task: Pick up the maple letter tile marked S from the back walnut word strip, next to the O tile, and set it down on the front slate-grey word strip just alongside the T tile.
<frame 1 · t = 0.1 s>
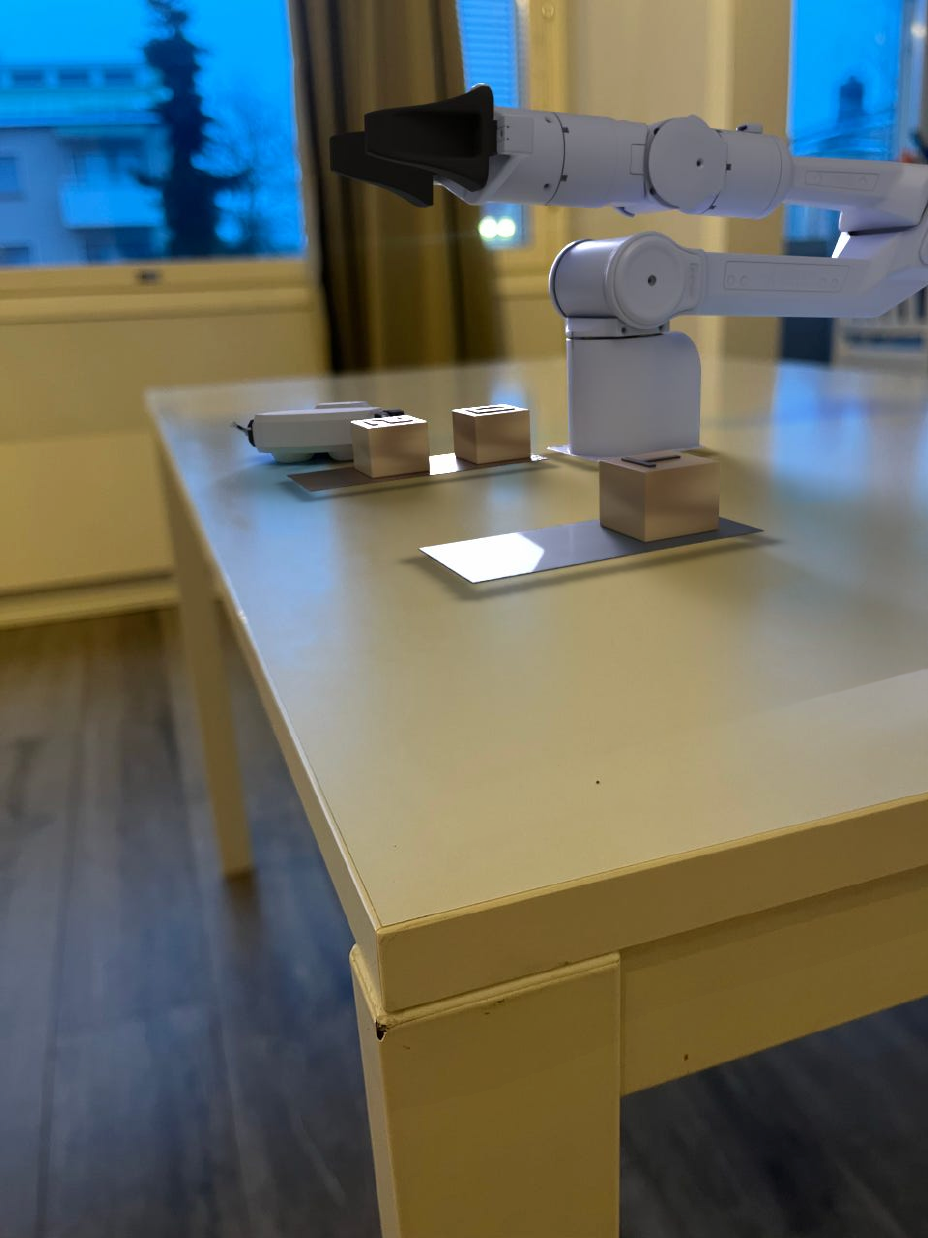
hand: (347, 143, 59), 22 cm above the table, tool horizontal, fingers open, 7 cm apart
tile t: (657, 527, 49), point 1 cm above the table, touching strip front
strip front: (590, 550, 48), on the table
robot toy: (335, 459, 80), on the table
tile s: (392, 470, 69), point 1 cm above the table, touching strip back
tile o: (492, 456, 72), point 1 cm above the table, touching strip back
strip back: (418, 474, 70), on the table
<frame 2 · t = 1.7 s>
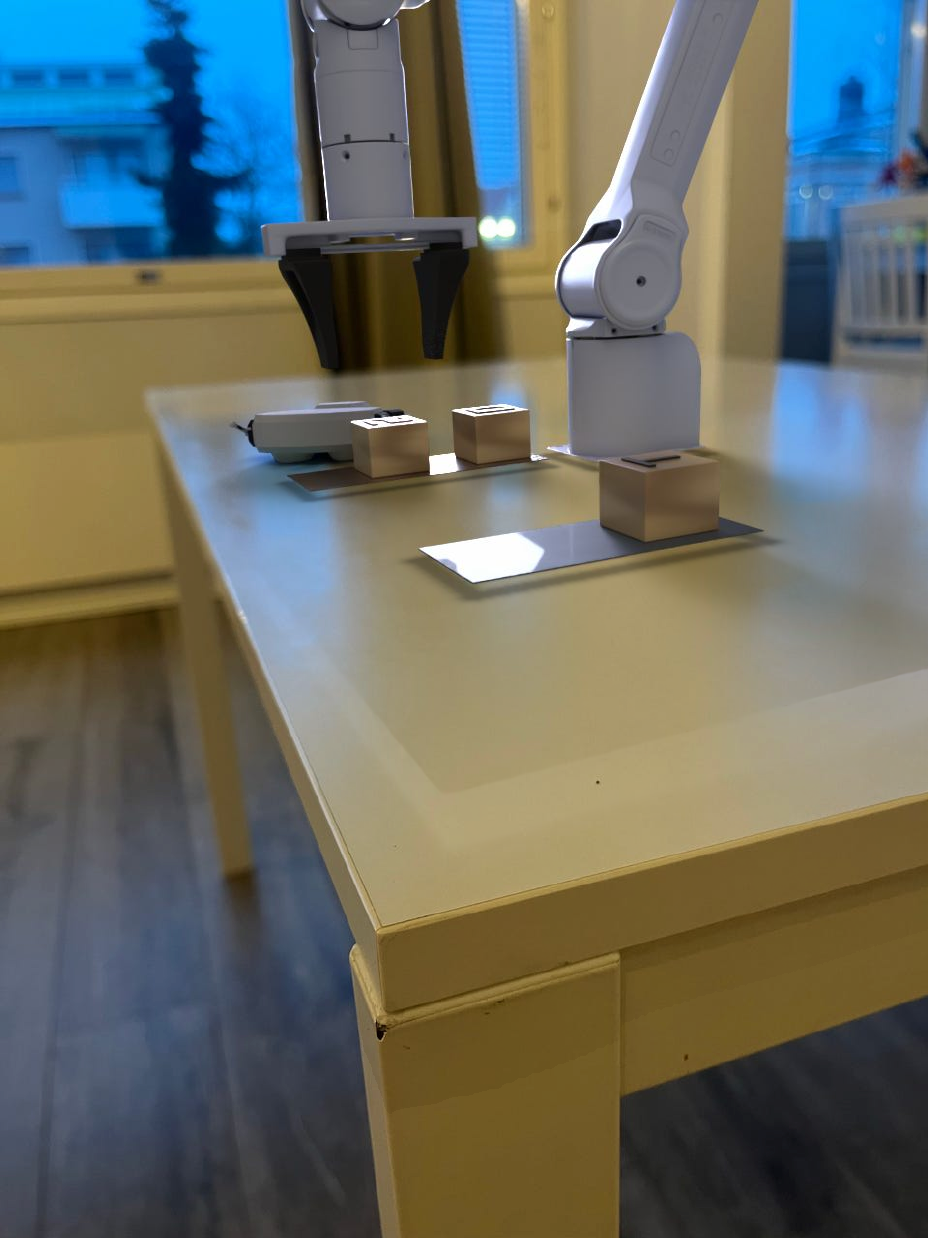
hand: (382, 363, 67), 8 cm above the table, tool pointing down, fingers open, 7 cm apart
nothing on the table moved.
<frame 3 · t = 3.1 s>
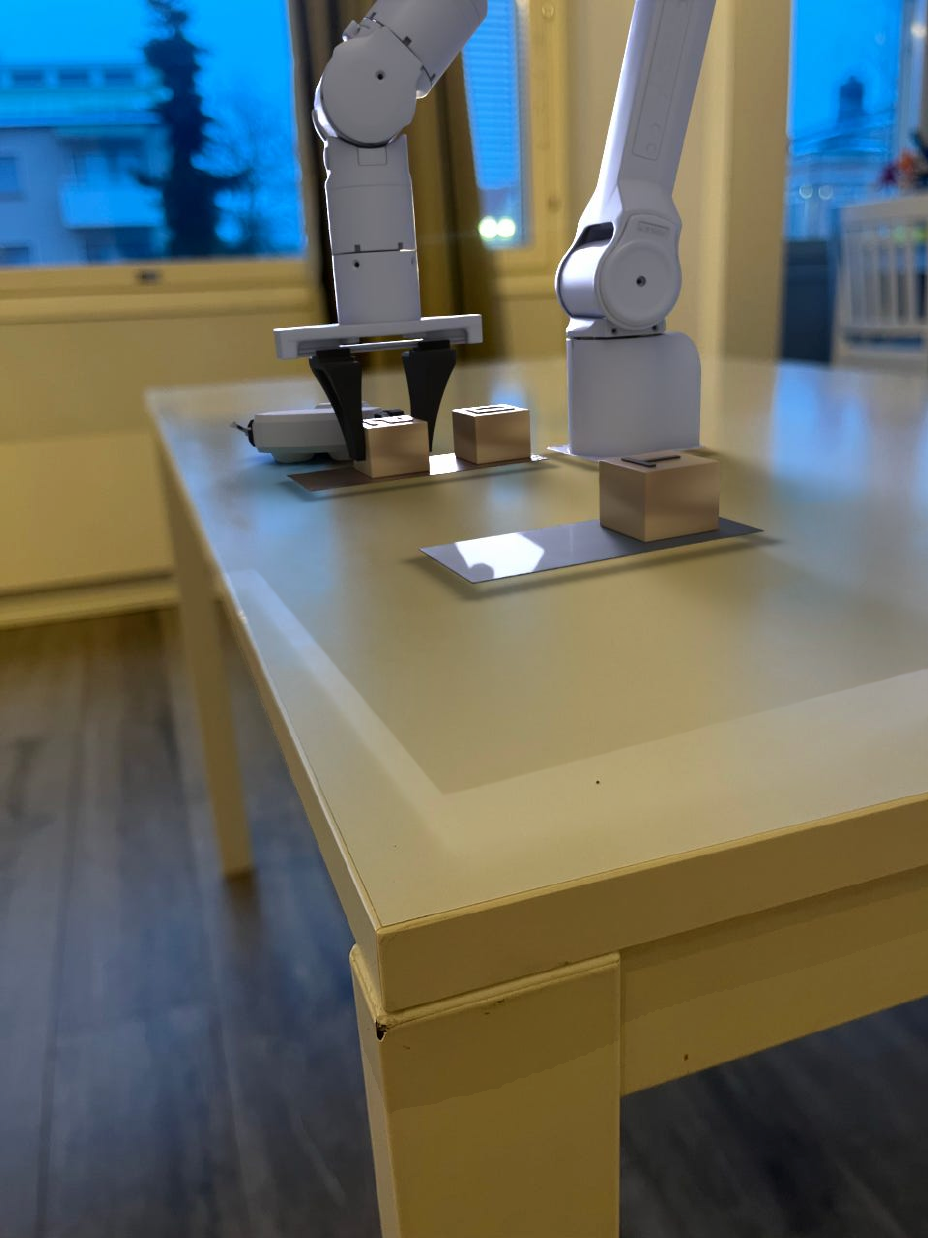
hand: (391, 454, 69), 2 cm above the table, tool pointing down, fingers closed on tile s, 4 cm apart
tile s: (392, 470, 69), point 1 cm above the table, touching gripper, strip back
everything else where it was.
when the fingers open (2 cm above the table, at t = 8.0 s): tile s stays where it is, resting on strip front.
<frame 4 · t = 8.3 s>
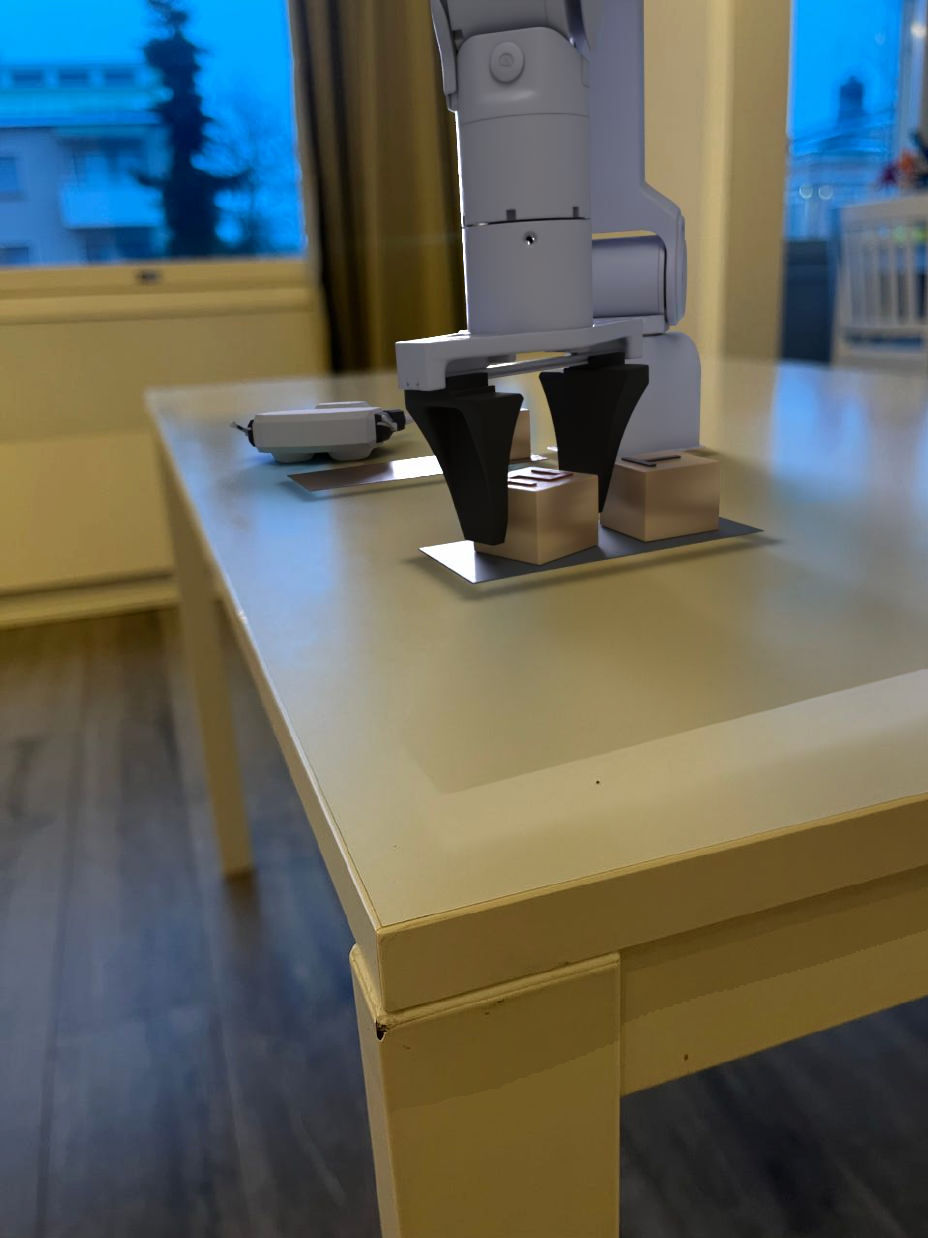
hand: (536, 525, 47), 2 cm above the table, tool pointing down, fingers open, 7 cm apart
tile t: (657, 527, 49), point 1 cm above the table, touching gripper, strip front
tile s: (536, 548, 47), point 1 cm above the table, touching strip front
everything else where it was.
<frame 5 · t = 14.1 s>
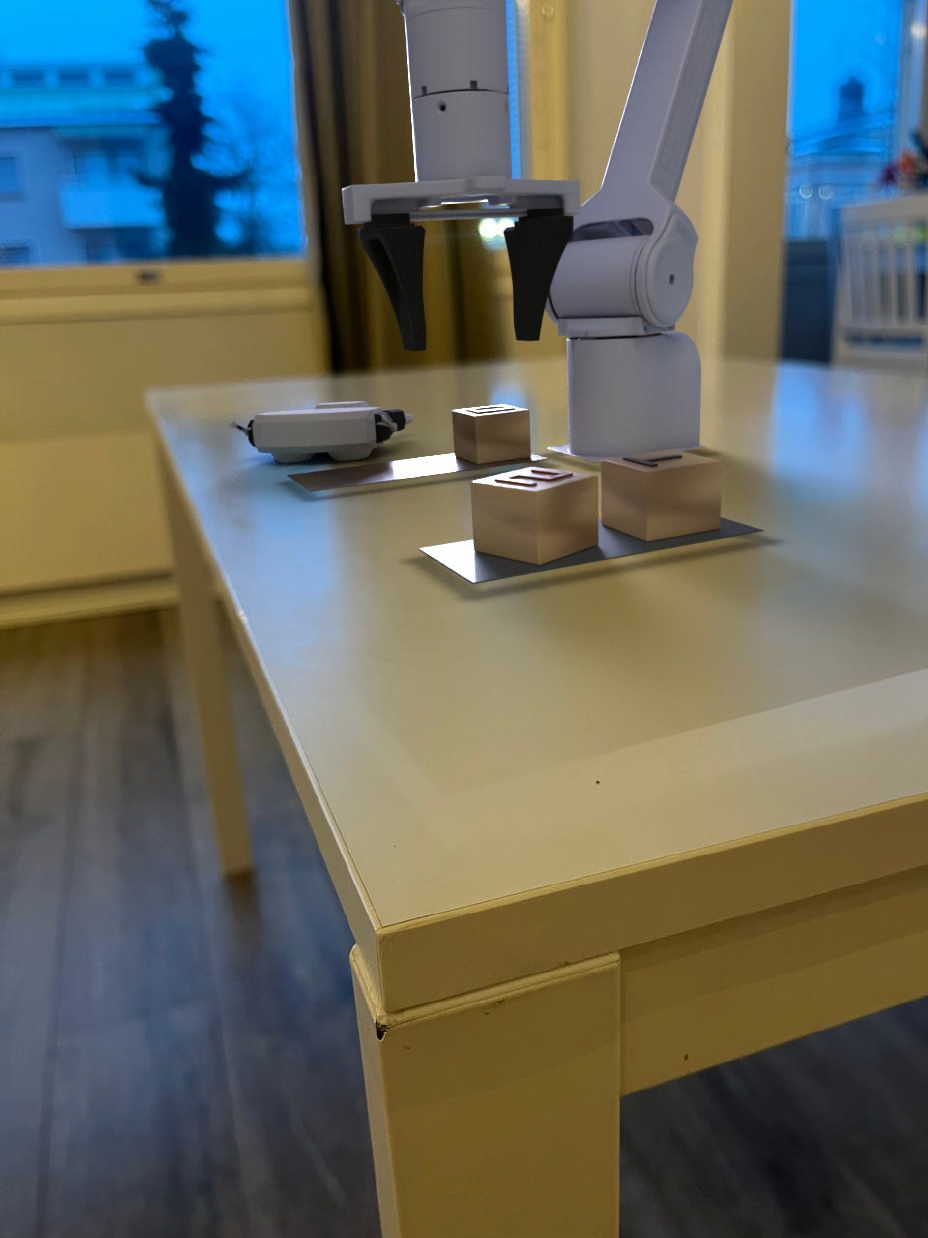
hand: (472, 345, 60), 9 cm above the table, tool pointing down, fingers open, 7 cm apart
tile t: (659, 526, 50), point 1 cm above the table, touching strip front
everything else where it was.
at the end: tile s 0.1 cm from the target spot on the strip front, point 0.6 cm above the strip front's base; tile s tilted 0°; tile o moved 0.0 cm from its start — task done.
